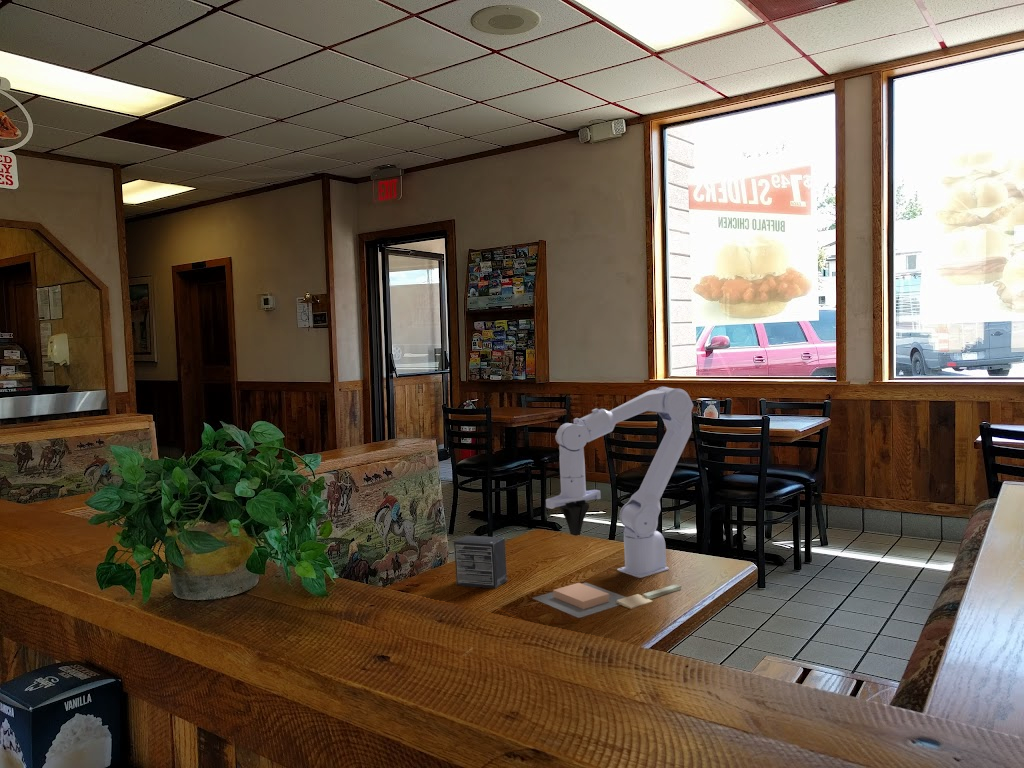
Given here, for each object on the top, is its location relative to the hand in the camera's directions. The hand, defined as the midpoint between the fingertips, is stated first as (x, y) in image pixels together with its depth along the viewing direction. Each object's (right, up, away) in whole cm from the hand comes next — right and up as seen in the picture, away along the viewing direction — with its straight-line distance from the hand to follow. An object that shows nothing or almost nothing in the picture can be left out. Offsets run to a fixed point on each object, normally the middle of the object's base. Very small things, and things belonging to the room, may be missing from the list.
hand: (575, 534), depth 180 cm
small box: (-21, -12, +1) cm, 24 cm away
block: (+3, -10, -12) cm, 16 cm away
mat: (0, -11, -14) cm, 18 cm away
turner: (+15, -10, -15) cm, 24 cm away
